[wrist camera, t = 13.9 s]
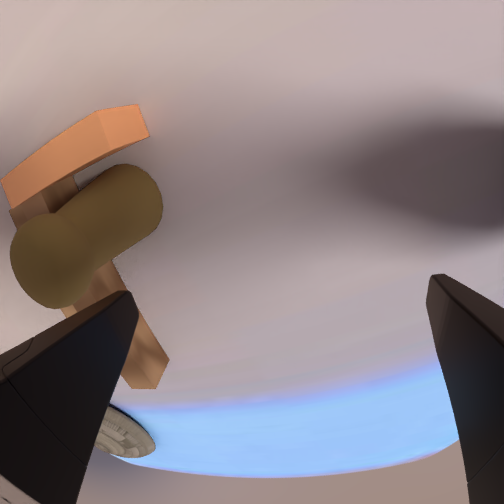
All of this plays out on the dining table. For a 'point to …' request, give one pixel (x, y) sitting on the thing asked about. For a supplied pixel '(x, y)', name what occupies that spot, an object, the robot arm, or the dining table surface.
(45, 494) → the robot arm
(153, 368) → the guide rail
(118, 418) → the flying saucer
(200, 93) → the dining table surface
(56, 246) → the cork
